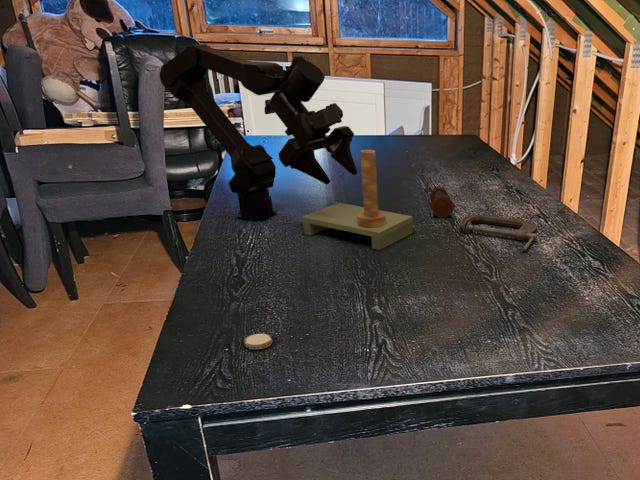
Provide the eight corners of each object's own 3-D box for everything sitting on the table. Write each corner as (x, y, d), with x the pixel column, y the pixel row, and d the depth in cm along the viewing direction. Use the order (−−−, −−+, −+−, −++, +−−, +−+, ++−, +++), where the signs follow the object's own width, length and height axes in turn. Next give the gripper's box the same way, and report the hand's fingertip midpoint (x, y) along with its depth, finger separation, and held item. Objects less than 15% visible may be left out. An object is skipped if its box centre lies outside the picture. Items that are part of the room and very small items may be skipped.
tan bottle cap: (239, 343, 98) (238, 339, 98) (261, 334, 101) (261, 330, 101) (255, 351, 96) (254, 348, 96) (277, 342, 99) (277, 338, 99)
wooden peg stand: (357, 228, 135) (352, 154, 128) (357, 219, 141) (352, 148, 133) (386, 227, 136) (383, 154, 129) (385, 219, 142) (382, 147, 134)
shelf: (303, 233, 143) (302, 216, 141) (340, 218, 153) (339, 202, 151) (379, 250, 136) (378, 232, 134) (413, 233, 146) (412, 216, 144)
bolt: (440, 206, 170) (446, 222, 156) (423, 197, 168) (427, 212, 155) (452, 187, 168) (458, 201, 154) (434, 177, 166) (439, 191, 153)
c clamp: (553, 230, 150) (554, 218, 149) (526, 253, 136) (526, 240, 135) (473, 216, 157) (474, 205, 156) (440, 237, 144) (440, 225, 142)
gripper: (283, 95, 123) (334, 163, 125) (343, 85, 138) (389, 146, 139) (257, 134, 130) (306, 197, 131) (317, 120, 145) (361, 178, 146)
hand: (342, 178), depth 137 cm, fingers open, 9 cm apart
